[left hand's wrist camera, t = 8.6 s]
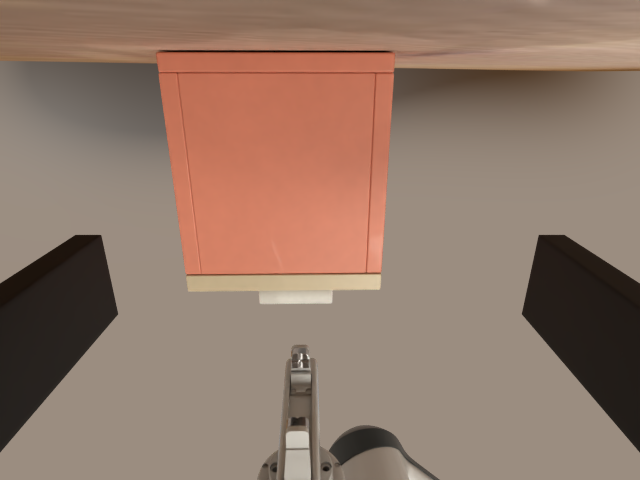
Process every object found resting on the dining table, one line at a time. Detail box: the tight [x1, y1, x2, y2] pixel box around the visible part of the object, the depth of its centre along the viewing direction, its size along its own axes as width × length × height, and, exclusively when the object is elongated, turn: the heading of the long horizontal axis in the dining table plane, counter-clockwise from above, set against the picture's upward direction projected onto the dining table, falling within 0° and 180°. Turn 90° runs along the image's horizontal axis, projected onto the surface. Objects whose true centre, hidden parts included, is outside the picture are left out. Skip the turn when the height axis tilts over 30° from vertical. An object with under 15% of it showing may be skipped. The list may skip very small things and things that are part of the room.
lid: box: [186, 272, 381, 304], centre depth 27 cm, size 15×9×8 cm, turn 179°
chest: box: [156, 52, 395, 274], centre depth 24 cm, size 14×9×9 cm, turn 179°
